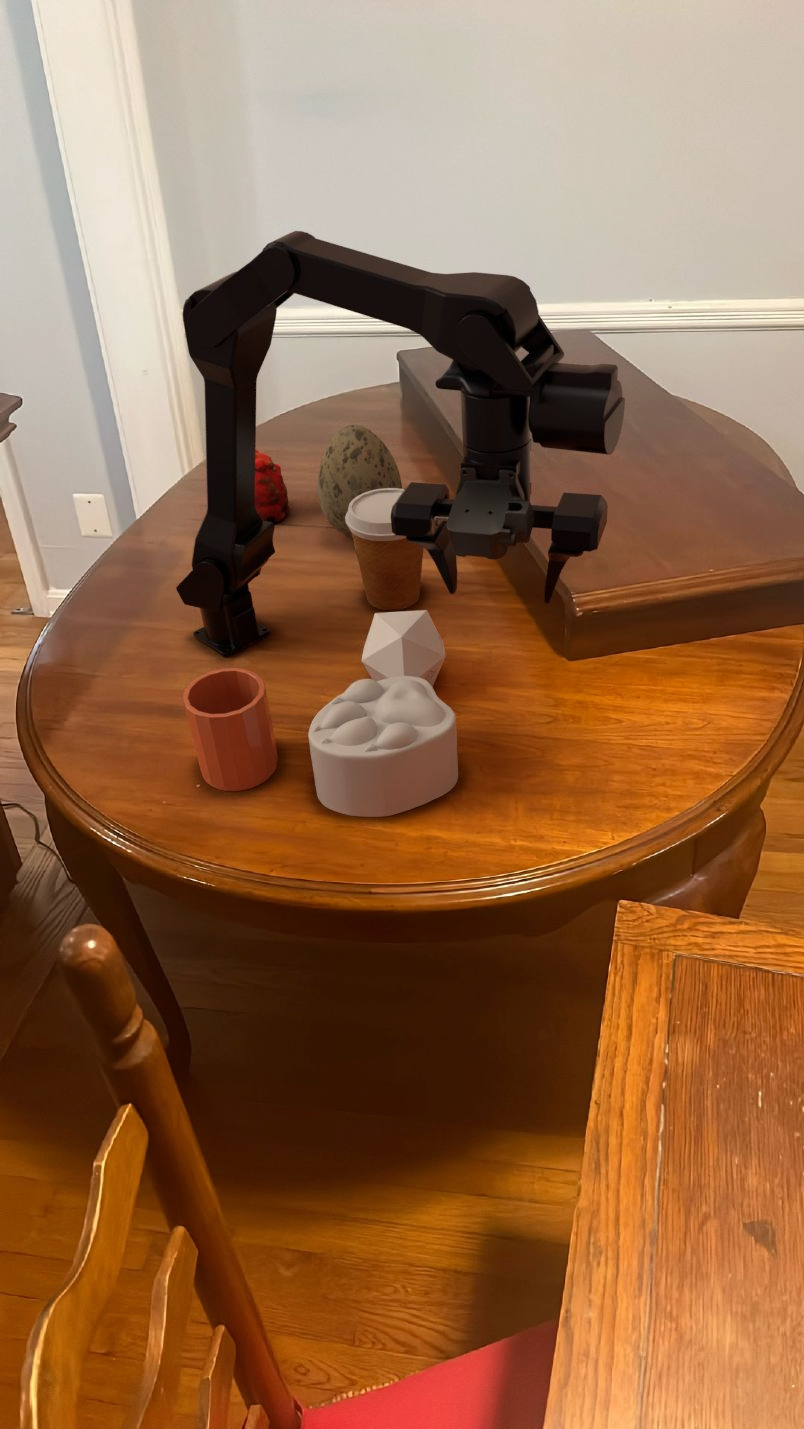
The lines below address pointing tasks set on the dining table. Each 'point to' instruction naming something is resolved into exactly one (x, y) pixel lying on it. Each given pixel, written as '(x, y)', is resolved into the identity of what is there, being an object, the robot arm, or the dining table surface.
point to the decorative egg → (353, 472)
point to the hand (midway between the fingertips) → (499, 596)
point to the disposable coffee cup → (384, 551)
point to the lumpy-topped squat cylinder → (383, 747)
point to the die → (403, 646)
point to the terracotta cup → (231, 728)
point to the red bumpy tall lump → (269, 489)
